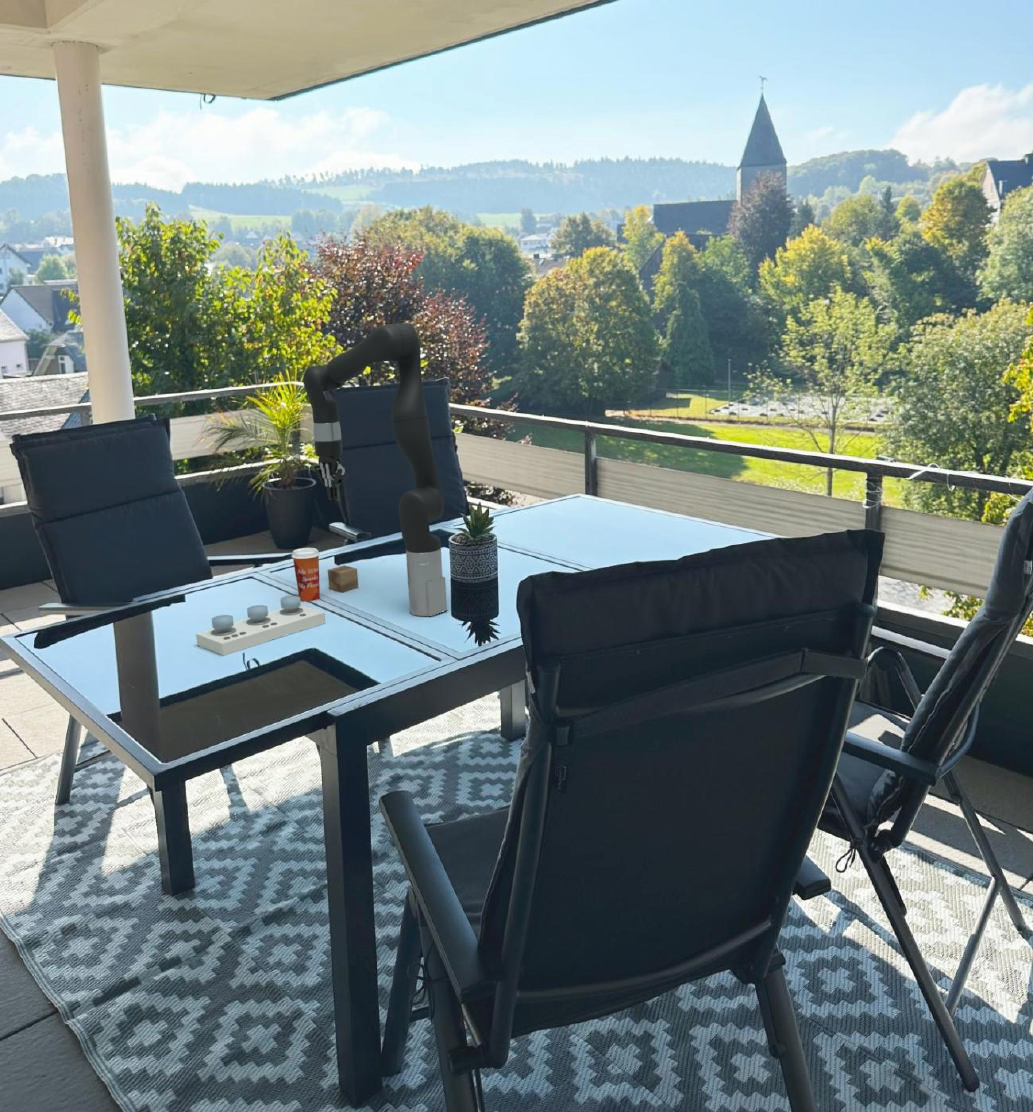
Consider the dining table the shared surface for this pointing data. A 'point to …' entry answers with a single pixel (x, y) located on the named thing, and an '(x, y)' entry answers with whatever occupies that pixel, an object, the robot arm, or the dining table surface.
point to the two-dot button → (257, 611)
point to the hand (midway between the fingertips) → (332, 499)
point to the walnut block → (343, 579)
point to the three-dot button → (222, 622)
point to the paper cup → (307, 573)
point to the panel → (259, 629)
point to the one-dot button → (290, 602)
